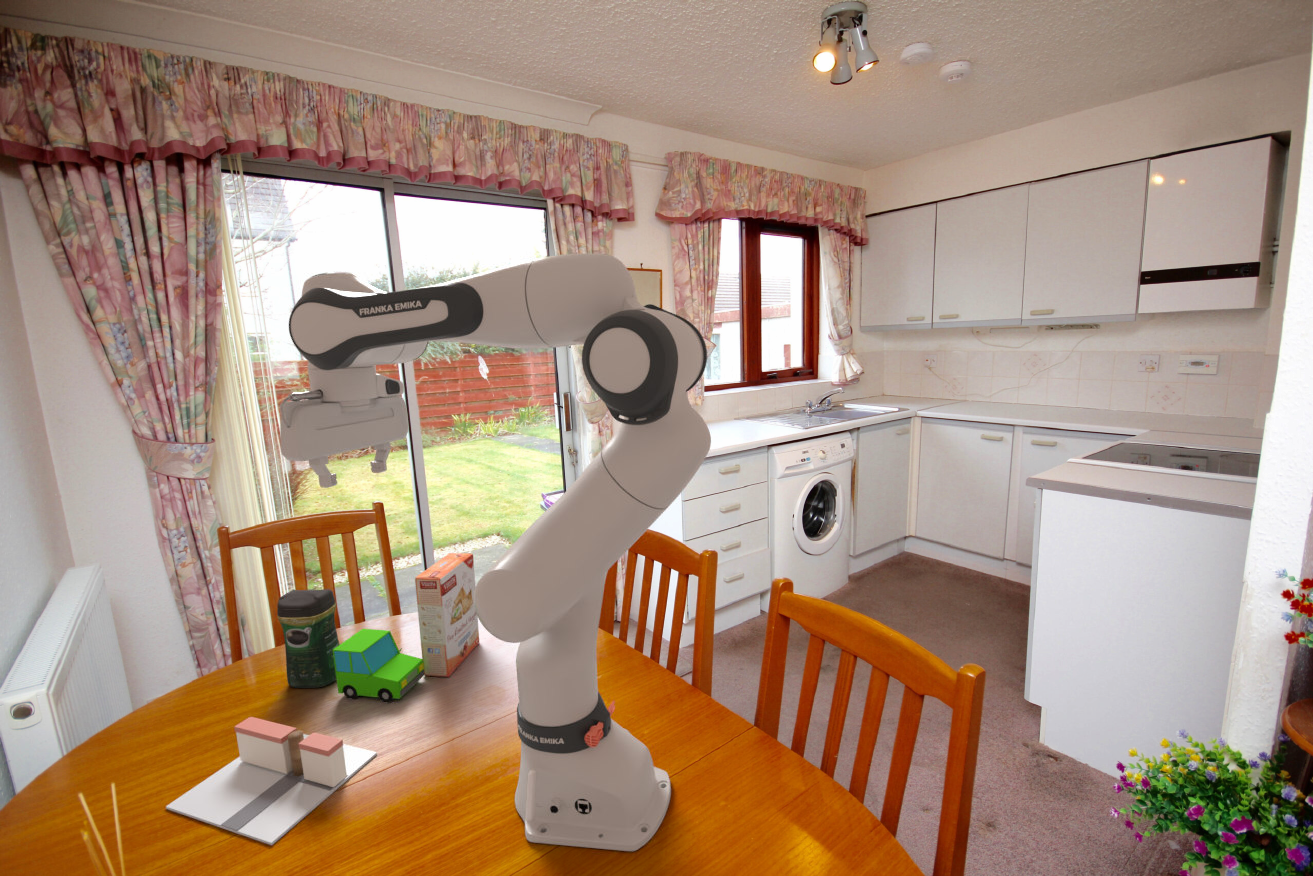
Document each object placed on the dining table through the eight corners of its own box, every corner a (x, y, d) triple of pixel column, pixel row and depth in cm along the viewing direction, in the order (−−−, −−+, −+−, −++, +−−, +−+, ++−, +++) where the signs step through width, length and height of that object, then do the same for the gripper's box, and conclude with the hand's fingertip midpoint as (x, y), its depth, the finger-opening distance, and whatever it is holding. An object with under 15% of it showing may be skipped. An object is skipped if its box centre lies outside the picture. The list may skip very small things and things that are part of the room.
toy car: (398, 709, 106) (392, 658, 104) (335, 702, 109) (328, 652, 107) (430, 677, 116) (425, 630, 114) (371, 672, 119) (366, 626, 117)
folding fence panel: (301, 762, 92) (296, 728, 91) (286, 774, 89) (280, 738, 88) (255, 750, 95) (250, 716, 94) (240, 761, 93) (234, 726, 92)
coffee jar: (351, 668, 120) (341, 582, 117) (328, 690, 112) (315, 600, 109) (307, 667, 121) (295, 583, 118) (280, 690, 113) (266, 600, 110)
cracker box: (451, 678, 115) (441, 578, 112) (422, 677, 116) (411, 577, 113) (482, 642, 129) (474, 552, 125) (456, 641, 130) (447, 551, 126)
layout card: (376, 754, 94) (376, 751, 94) (271, 845, 77) (271, 842, 77) (281, 730, 101) (281, 727, 101) (166, 809, 84) (165, 805, 84)
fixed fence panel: (347, 775, 89) (342, 739, 88) (332, 788, 86) (327, 751, 85) (318, 767, 90) (313, 732, 90) (303, 779, 88) (298, 743, 87)
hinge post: (311, 771, 91) (306, 732, 90) (300, 780, 89) (294, 740, 88) (302, 768, 91) (296, 729, 90) (290, 777, 90) (284, 737, 88)
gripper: (297, 394, 75) (310, 498, 77) (411, 382, 94) (419, 466, 96) (261, 394, 77) (275, 495, 79) (380, 382, 96) (389, 464, 98)
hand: (355, 479), depth 88 cm, fingers open, 8 cm apart
